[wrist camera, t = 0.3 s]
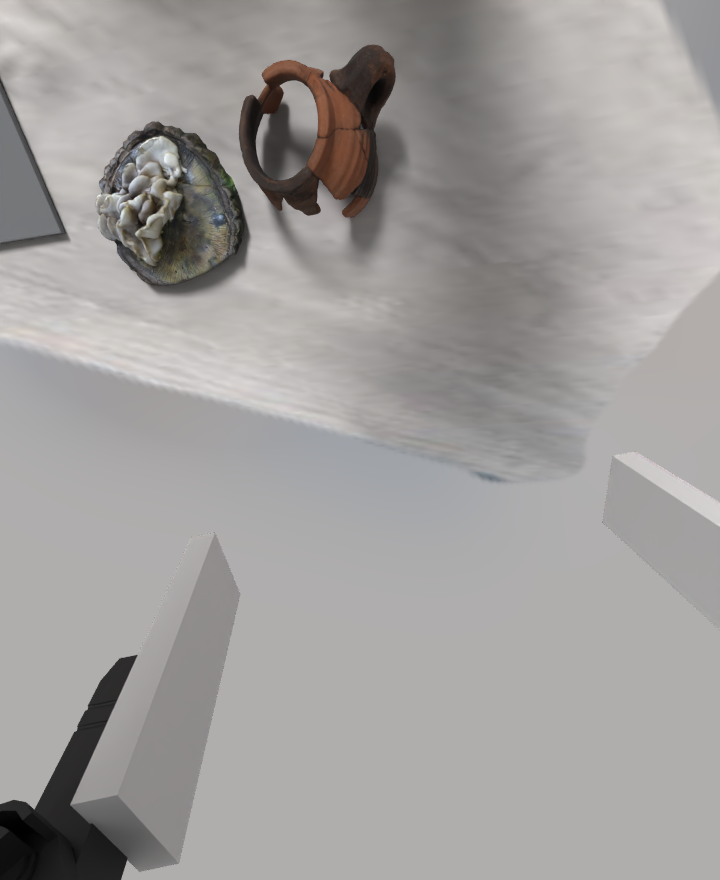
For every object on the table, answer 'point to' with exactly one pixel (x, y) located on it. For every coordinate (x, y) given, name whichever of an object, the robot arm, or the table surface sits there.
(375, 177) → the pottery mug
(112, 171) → the oyster shell
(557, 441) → the table surface
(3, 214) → the board
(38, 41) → the table surface
